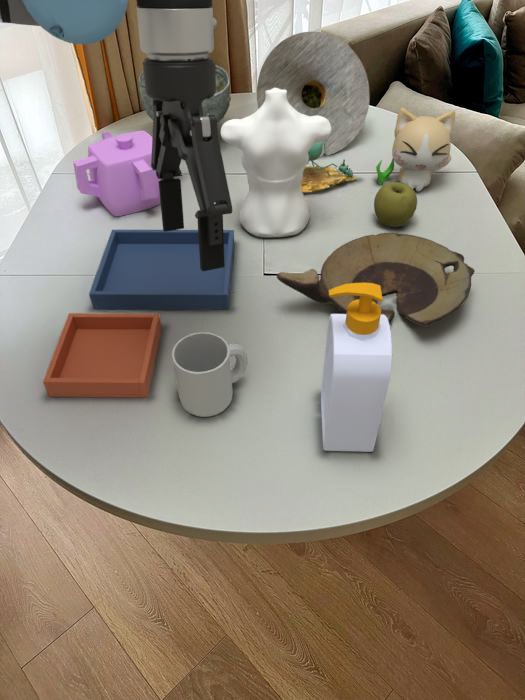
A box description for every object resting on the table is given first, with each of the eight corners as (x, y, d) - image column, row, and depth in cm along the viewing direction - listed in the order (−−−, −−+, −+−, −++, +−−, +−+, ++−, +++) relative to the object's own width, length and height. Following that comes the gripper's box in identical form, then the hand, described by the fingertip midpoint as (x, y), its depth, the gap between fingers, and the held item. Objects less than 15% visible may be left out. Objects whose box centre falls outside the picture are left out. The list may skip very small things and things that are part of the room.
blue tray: (93, 308, 89) (88, 294, 87) (115, 243, 102) (111, 229, 99) (228, 309, 89) (227, 294, 87) (234, 244, 101) (233, 229, 99)
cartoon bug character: (357, 198, 112) (357, 126, 101) (268, 202, 115) (259, 132, 104) (358, 174, 118) (358, 103, 108) (273, 178, 121) (265, 109, 111)
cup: (171, 389, 78) (162, 344, 71) (235, 363, 81) (232, 317, 75) (193, 426, 73) (186, 382, 67) (260, 397, 77) (259, 351, 70)
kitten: (374, 194, 113) (385, 120, 102) (374, 169, 120) (384, 98, 109) (450, 199, 111) (470, 124, 100) (446, 174, 118) (463, 101, 107)
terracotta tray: (49, 396, 77) (42, 382, 75) (73, 328, 86) (68, 313, 84) (147, 397, 77) (144, 382, 75) (162, 328, 86) (159, 313, 84)
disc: (364, 158, 138) (342, 55, 135) (385, 137, 120) (360, 18, 118) (265, 181, 136) (241, 77, 134) (272, 163, 119) (244, 44, 116)
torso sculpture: (318, 208, 109) (328, 73, 91) (326, 237, 102) (338, 98, 84) (225, 213, 108) (216, 77, 90) (227, 242, 102) (218, 103, 84)
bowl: (214, 170, 120) (209, 98, 109) (133, 156, 124) (121, 86, 114) (246, 130, 133) (244, 63, 122) (171, 119, 137) (163, 54, 127)
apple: (379, 236, 103) (385, 202, 97) (365, 213, 108) (370, 179, 103) (418, 231, 104) (426, 197, 98) (402, 208, 109) (409, 174, 104)
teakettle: (78, 213, 109) (61, 153, 100) (112, 170, 120) (99, 113, 111) (162, 223, 106) (152, 162, 97) (188, 178, 118) (182, 120, 109)
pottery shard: (474, 354, 82) (489, 315, 76) (271, 332, 85) (271, 293, 80) (462, 261, 97) (473, 223, 92) (289, 246, 101) (291, 208, 95)
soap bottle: (314, 396, 77) (327, 260, 60) (366, 397, 76) (393, 261, 60) (317, 452, 70) (331, 317, 54) (373, 453, 70) (405, 318, 54)
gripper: (265, 67, 51) (263, 281, 62) (173, 44, 69) (185, 211, 81) (186, 72, 48) (200, 295, 59) (112, 46, 66) (134, 219, 78)
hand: (191, 247), depth 70 cm, fingers open, 13 cm apart
